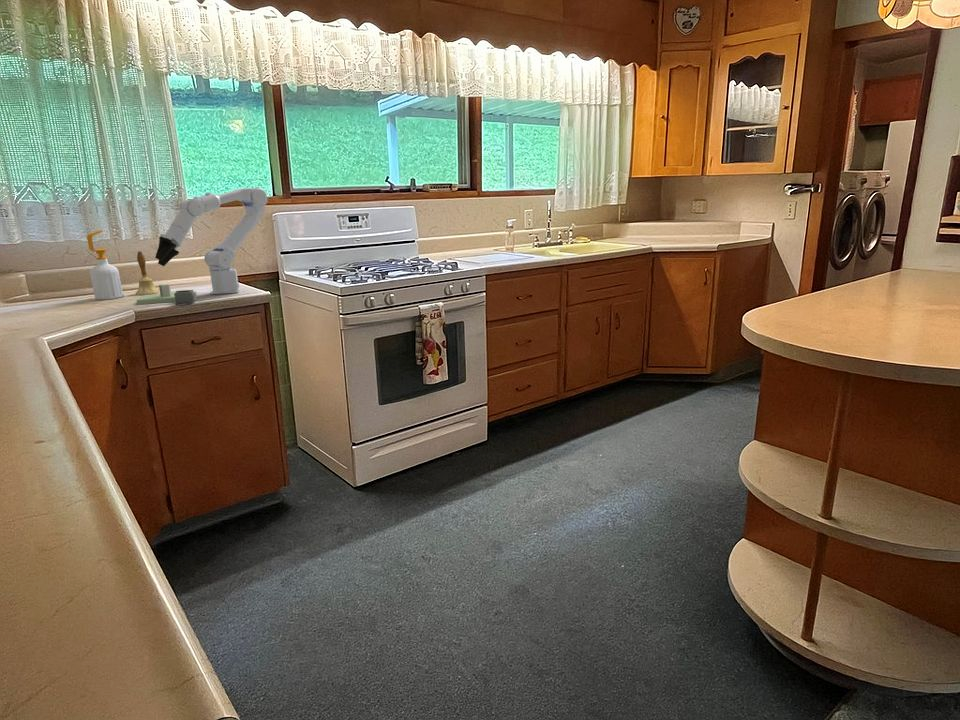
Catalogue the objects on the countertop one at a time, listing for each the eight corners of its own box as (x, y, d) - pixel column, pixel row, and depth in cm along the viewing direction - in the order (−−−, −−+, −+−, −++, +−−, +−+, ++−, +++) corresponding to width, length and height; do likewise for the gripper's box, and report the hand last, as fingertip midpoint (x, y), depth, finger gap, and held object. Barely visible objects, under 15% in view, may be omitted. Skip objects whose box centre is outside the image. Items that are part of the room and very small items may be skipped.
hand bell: (149, 295, 231) (141, 252, 226) (130, 295, 232) (122, 252, 228) (164, 291, 238) (157, 250, 234) (146, 291, 240) (138, 250, 236)
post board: (196, 295, 227) (194, 280, 226) (193, 300, 218) (191, 284, 216) (143, 299, 222) (140, 284, 220) (137, 304, 213) (134, 288, 211)
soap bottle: (127, 297, 228) (114, 230, 221) (99, 301, 221) (85, 232, 214) (118, 294, 233) (106, 229, 227) (92, 298, 227) (78, 231, 220)
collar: (195, 300, 217) (193, 289, 215) (193, 303, 212) (191, 292, 210) (178, 302, 215) (176, 290, 214) (176, 304, 210) (174, 293, 209)
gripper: (169, 229, 221) (150, 261, 218) (165, 216, 208) (145, 250, 205) (189, 239, 223) (170, 271, 220) (186, 227, 210) (166, 260, 207)
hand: (159, 262), depth 212 cm, fingers open, 7 cm apart
